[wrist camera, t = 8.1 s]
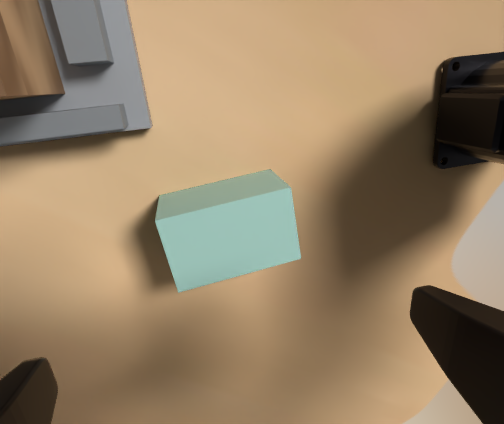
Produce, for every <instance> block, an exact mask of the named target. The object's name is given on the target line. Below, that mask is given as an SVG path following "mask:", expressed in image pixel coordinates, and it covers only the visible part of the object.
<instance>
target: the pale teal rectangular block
mask: <svg viewBox="0 0 504 424" xmlns="http://www.w3.org/2000/svg"><path fill="white" fill-rule="evenodd" d="M155 223H156V226H157V229H158V232H159V235H160V238H161V241H162V244H163V247H164V250H165V253H166V256H167V259H168V262H169V266H170V269H171V272H172V275H173V278H174V281H175V284H176V287H177V290H178V293H179V292H183V291H186V290H190V289H193V288H197V287H201V286H204V285H208V284H211V283H215V282H219V281H222V280H226V279H229V278H233V277H237V276H240V275H244V274H248V273H251V272H255V271H258V270H262V269H266V268H269V267H273V266H276V265H280V264H284V263H287V262H291V261H294V260H298V259H301V254H300V247H299V240H298V233H297V226H296V219H295V212H294V205H293V198H292V191H291V187H290V186H289V185H288V184H287V183H285V182H284V181H283V180H282V179H281V178H280V177H279V176H277V175H276V174H275V173H274V172H273V171H272V170H271V169H269V170H264V171H260V172H256V173H252V174H247V175H243V176H239V177H235V178H231V179H226V180H222V181H218V182H214V183H210V184H205V185H201V186H197V187H193V188H189V189H184V190H180V191H176V192H172V193H168V194H163V195H159V201H158V206H157V212H156V217H155Z"/></svg>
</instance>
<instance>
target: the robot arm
mask: <svg viewBox="0 0 504 424" xmlns="http://www.w3.org/2000/svg"><path fill="white" fill-rule="evenodd" d="M453 64H454V69H453V70H452V65H453ZM442 158H443V161H442V162H441V160H442ZM487 161H492V162H497V163H501V164H504V52H499V53H489V54H480V55H470V56H461V57H452V58H449V59H448V60H446V62H445V63H444V66H443V72H442V81H441V91H440V100H439V109H438V118H437V127H436V136H435V145H434V155H433V165H434V166H435V167H437V168H440V169H445V168H451V167H457V166H463V165H469V164H475V163H481V162H487ZM410 318H411V321H412V323H413V324H414V326H415V328H416V329H417V331H418V332H419V334H420V335H421V337H422V339H423V340H424V342H425V343H426V345H427V347H428V348H429V350H430V351H431V353H432V354H433V356H434V358H435V359H436V361H437V362H438V364H439V365H440V367H441V368H442V370H443V371H444V373H445V374H446V376H447V377H448V379H449V380H450V381H451V383H452V384H453V385H454V387H455V388H456V389H457V391H458V392H459V393H460V394H461V396H462V397H463V398H464V400H465V401H466V402H467V403H468V405H469V406H470V407H471V409H472V410H473V411H474V413H475V414H476V415H477V416H478V418H479V419H480V420H481V422H482V423H483V424H504V311H501V310H499V309H496V308H493V307H490V306H487V305H485V304H482V303H479V302H476V301H473V300H470V299H468V298H465V297H462V296H459V295H456V294H454V293H451V292H448V291H445V290H442V289H439V288H437V287H434V286H430V285H428V286H422V287H417V288H415V289H414V290H413V293H412V300H411V308H410ZM57 393H58V387H57V382H56V380H55V377H54V374H53V372H52V369H51V367H50V364H49V362H48V360H47V359H46V358H44V357H40V358H35V359H29V360H25V361H23V362H22V363H20V364H19V365H18V366H17V367H15V368H14V369H13V370H12V371H11V372H9V373H8V374H7V375H6V376H5V377H3V378H2V379H1V380H0V424H51V421H52V417H53V412H54V408H55V403H56V399H57Z"/></svg>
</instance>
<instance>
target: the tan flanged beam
mask: <svg viewBox="0 0 504 424" xmlns="http://www.w3.org/2000/svg"><path fill="white" fill-rule="evenodd" d="M56 94H65V90H64V87H63V84H62V80H61V77H60V74H59V70H58V67H57V63H56V60H55V57H54V53H53V50H52V46H51V43H50V40H49V36H48V33H47V29H46V26H45V23H44V19H43V16H42V12H41V9H40V6H39V2H38V0H0V100H8V99H18V98H28V97H37V96H47V95H56Z"/></svg>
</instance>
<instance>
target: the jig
mask: <svg viewBox="0 0 504 424" xmlns="http://www.w3.org/2000/svg"><path fill="white" fill-rule="evenodd" d="M38 2H39V6H40V9H41V12H42V16H43V19H44V23H45V26H46V29H47V33H48V36H49V40H50V43H51V46H52V50H53V53H54V57H55V60H56V63H57V67H58V70H59V74H60V77H61V80H62V84H63V87H64V90H65V94H56V95H47V96H37V97H28V98H18V99H8V100H0V146H9V145H17V144H25V143H33V142H41V141H49V140H57V139H65V138H73V137H81V136H89V135H97V134H106V133H114V132H122V131H130V130H138V129H146V128H151V127H152V121H151V116H150V111H149V107H148V102H147V97H146V92H145V87H144V82H143V78H142V73H141V68H140V63H139V58H138V54H137V49H136V44H135V39H134V34H133V29H132V25H131V20H130V15H129V10H128V5H127V0H38Z"/></svg>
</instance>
